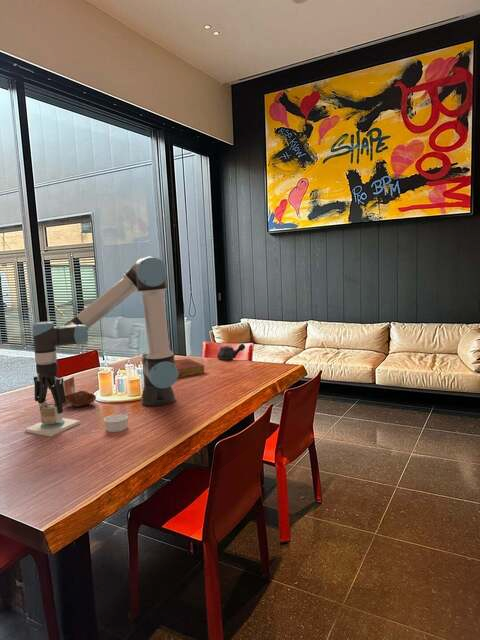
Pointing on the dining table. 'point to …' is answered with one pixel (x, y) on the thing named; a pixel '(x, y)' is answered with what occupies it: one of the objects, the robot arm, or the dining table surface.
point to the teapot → (229, 352)
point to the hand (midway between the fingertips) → (52, 419)
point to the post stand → (52, 426)
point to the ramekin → (116, 422)
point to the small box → (68, 385)
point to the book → (188, 367)
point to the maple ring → (48, 414)
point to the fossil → (80, 398)
